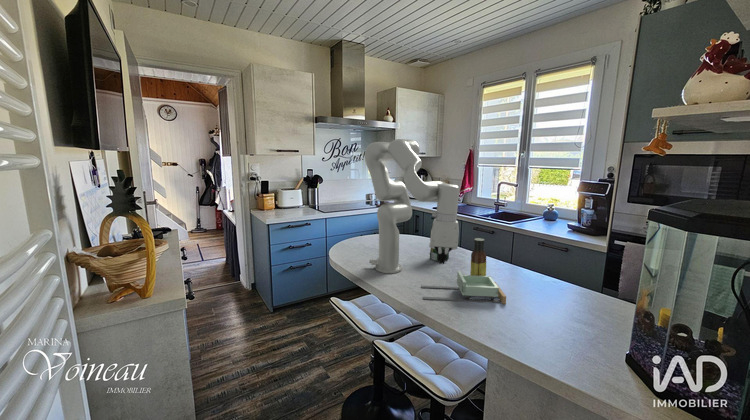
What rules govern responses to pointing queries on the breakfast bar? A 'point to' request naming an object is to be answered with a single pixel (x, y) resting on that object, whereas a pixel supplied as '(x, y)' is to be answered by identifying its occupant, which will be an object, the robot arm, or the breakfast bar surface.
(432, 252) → the coffee jar
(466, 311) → the breakfast bar surface
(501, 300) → the track
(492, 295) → the cart
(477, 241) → the sauce bottle
